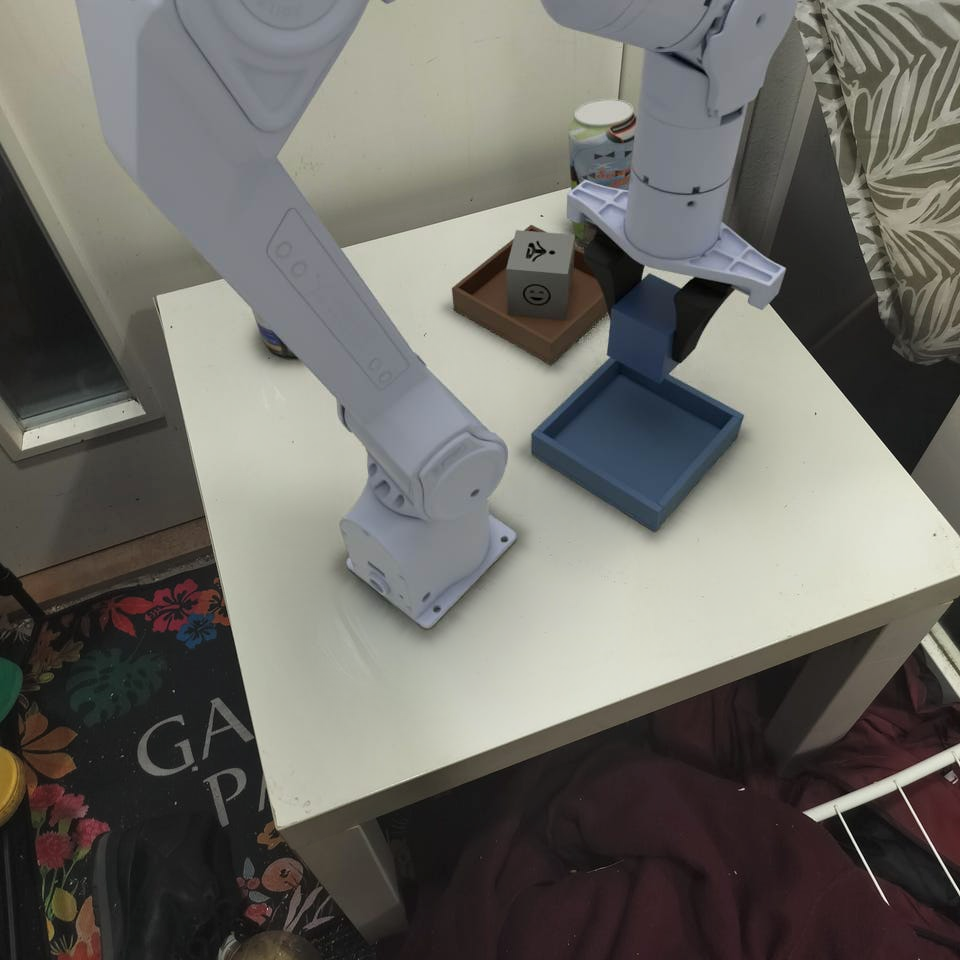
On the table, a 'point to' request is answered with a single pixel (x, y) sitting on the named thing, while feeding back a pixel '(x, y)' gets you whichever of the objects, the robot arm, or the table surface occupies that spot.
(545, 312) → the dice cube
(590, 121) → the beverage can
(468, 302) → the walnut tray
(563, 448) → the blue tray
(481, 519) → the robot arm
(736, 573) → the table surface
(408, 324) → the table surface
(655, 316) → the blue block
